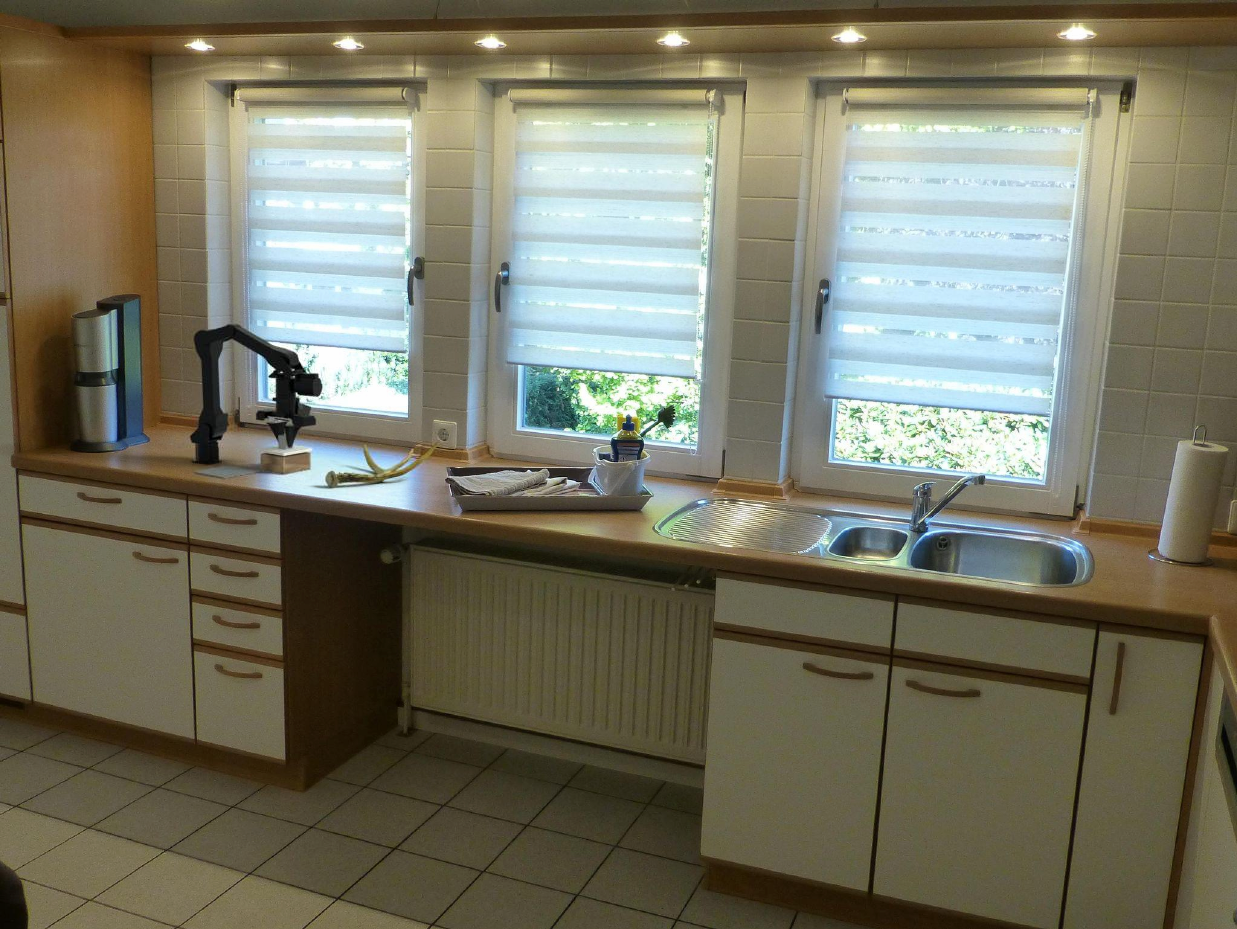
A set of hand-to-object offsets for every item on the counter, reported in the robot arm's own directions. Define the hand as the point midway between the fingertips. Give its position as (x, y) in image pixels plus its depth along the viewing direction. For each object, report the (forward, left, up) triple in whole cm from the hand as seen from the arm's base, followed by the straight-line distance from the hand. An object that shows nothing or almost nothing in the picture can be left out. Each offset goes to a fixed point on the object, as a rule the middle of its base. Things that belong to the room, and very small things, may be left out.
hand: (285, 446), depth 321 cm
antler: (+31, +9, -7) cm, 33 cm away
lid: (0, 0, -1) cm, 1 cm away
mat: (-9, -14, -7) cm, 18 cm away
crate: (0, 0, -7) cm, 7 cm away
